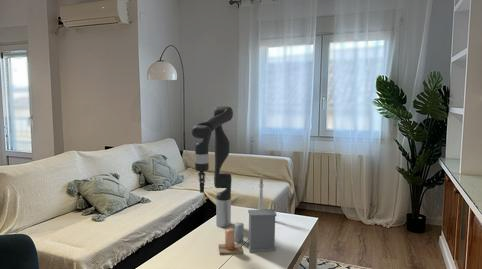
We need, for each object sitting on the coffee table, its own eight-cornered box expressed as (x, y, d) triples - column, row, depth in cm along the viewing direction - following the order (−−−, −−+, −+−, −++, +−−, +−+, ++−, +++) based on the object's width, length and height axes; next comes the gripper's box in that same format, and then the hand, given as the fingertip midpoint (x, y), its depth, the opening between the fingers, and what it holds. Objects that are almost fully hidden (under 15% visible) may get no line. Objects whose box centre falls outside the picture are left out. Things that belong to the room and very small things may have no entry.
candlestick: (264, 222, 222) (265, 177, 218) (247, 218, 229) (248, 174, 225) (273, 216, 233) (274, 173, 229) (257, 212, 240) (258, 171, 236)
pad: (218, 246, 187) (218, 244, 187) (240, 245, 189) (240, 243, 189) (219, 254, 178) (219, 252, 178) (242, 253, 179) (242, 251, 179)
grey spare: (234, 239, 196) (234, 222, 195) (242, 239, 197) (243, 222, 195) (235, 243, 191) (235, 226, 190) (243, 242, 192) (244, 225, 190)
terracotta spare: (225, 246, 185) (224, 228, 184) (234, 245, 186) (234, 228, 185) (225, 250, 180) (225, 232, 179) (235, 249, 181) (234, 231, 180)
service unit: (247, 245, 189) (248, 209, 186) (272, 244, 190) (273, 209, 188) (249, 252, 181) (250, 215, 178) (275, 251, 182) (276, 214, 180)
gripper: (209, 164, 180) (209, 194, 182) (208, 158, 194) (208, 186, 196) (194, 164, 179) (194, 194, 181) (195, 159, 193) (195, 186, 195)
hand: (201, 190), depth 188 cm, fingers open, 8 cm apart
